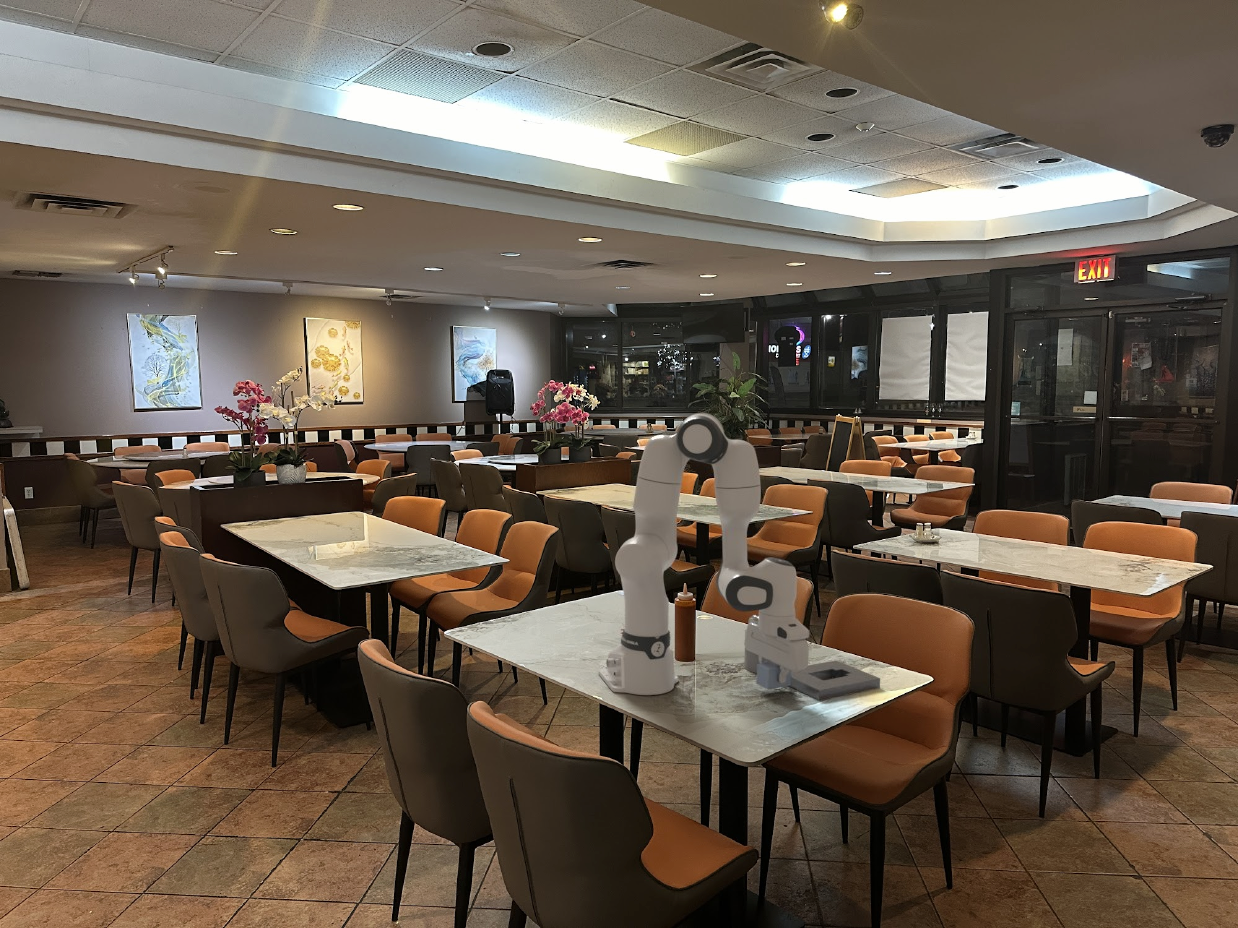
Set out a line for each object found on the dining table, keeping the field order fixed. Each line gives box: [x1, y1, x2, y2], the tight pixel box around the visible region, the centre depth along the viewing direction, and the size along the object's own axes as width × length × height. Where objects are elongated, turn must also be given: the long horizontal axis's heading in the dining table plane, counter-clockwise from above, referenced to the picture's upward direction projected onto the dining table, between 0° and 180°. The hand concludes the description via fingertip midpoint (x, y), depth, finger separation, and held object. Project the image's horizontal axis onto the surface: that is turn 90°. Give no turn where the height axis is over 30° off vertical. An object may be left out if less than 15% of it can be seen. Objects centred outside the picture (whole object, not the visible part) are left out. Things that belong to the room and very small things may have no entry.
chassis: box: [789, 660, 881, 701], centre depth 208 cm, size 16×20×2 cm
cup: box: [743, 629, 772, 674], centre depth 220 cm, size 8×8×10 cm
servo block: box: [755, 662, 792, 690], centre depth 201 cm, size 4×8×6 cm, turn 119°
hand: (773, 678), depth 201 cm, fingers closed on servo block, 4 cm apart
